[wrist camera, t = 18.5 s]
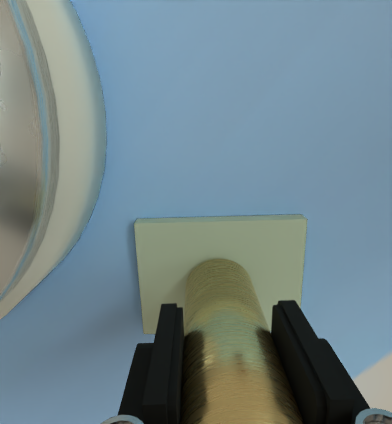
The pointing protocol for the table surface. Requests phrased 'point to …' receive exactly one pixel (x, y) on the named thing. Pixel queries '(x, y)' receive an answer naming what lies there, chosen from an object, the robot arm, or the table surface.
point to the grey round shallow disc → (24, 143)
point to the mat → (219, 257)
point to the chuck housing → (68, 138)
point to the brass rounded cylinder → (230, 353)
